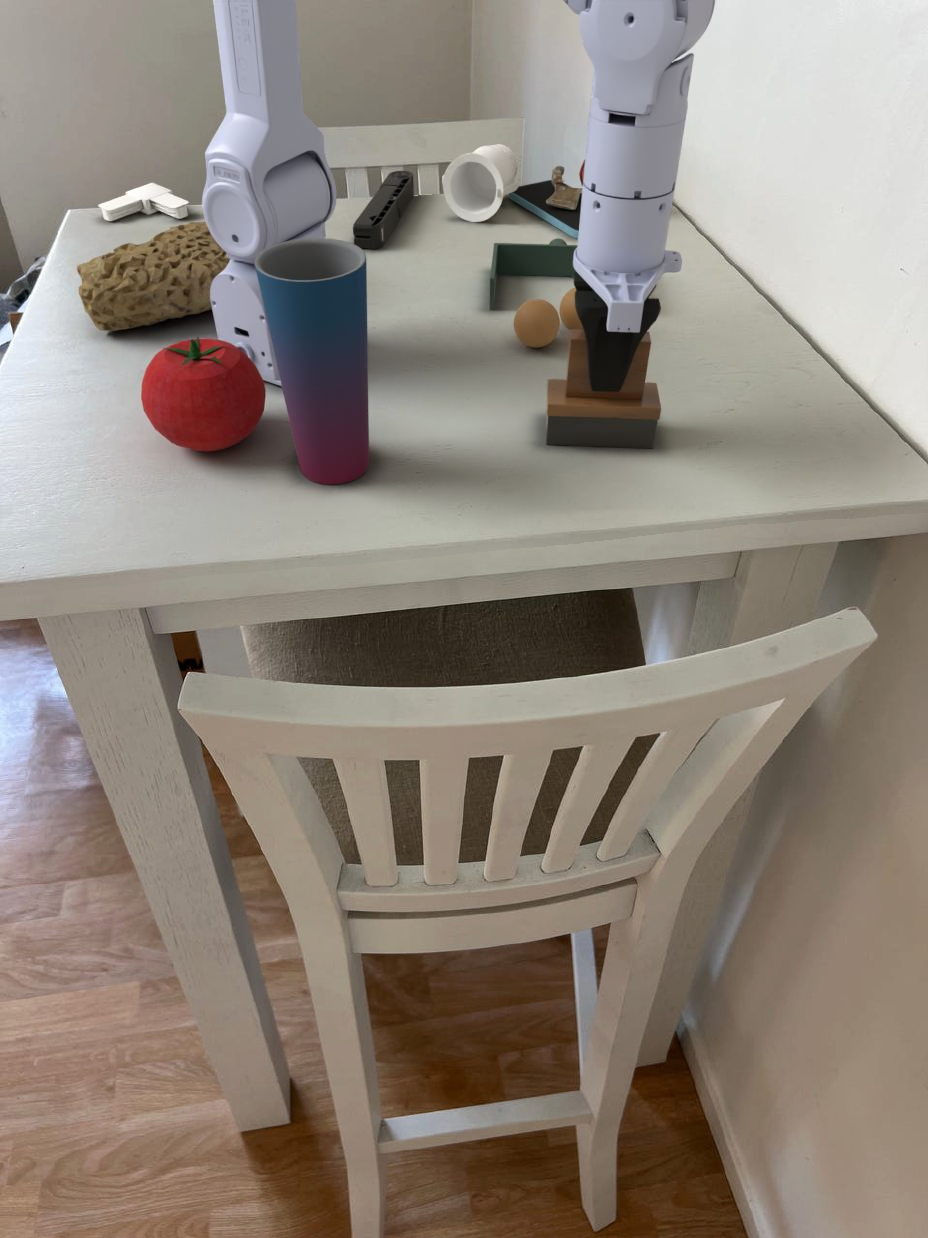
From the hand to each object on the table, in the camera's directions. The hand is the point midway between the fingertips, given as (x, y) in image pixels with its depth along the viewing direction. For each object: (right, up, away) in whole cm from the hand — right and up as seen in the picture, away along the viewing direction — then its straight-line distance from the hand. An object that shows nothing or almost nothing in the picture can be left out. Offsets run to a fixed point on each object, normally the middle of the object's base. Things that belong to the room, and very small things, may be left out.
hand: (604, 381), depth 65 cm
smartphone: (+5, +25, +32) cm, 41 cm away
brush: (0, -3, +3) cm, 4 cm away
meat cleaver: (+3, +33, +39) cm, 51 cm away
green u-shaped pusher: (-1, +15, +23) cm, 28 cm away
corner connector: (-46, +30, +35) cm, 65 cm away
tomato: (-29, -4, +3) cm, 30 cm away
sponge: (-36, +13, +20) cm, 43 cm away
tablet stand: (-21, +29, +35) cm, 50 cm away
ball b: (-4, +8, +12) cm, 15 cm away
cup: (-20, -6, 0) cm, 21 cm away
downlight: (-9, +30, +32) cm, 45 cm away
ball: (0, +10, +14) cm, 18 cm away
